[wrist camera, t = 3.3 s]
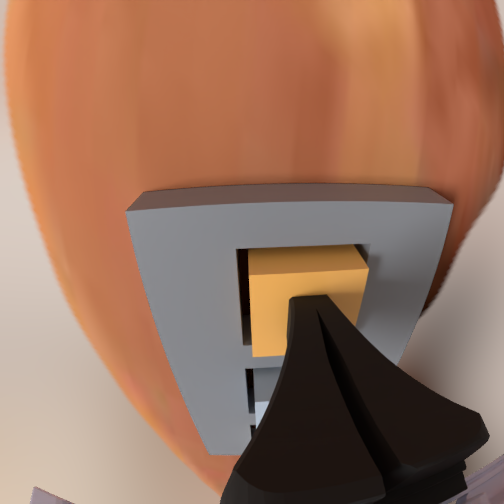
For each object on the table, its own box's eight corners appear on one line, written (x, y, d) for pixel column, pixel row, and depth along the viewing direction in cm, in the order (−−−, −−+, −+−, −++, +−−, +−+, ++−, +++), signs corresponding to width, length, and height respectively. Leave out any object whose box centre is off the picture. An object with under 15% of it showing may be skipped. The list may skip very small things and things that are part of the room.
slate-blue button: (319, 394, 16) (326, 428, 14) (254, 399, 16) (256, 434, 14) (330, 354, 14) (341, 393, 12) (252, 360, 14) (254, 402, 12)
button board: (346, 424, 21) (350, 443, 19) (210, 435, 21) (209, 454, 19) (427, 187, 11) (453, 204, 9) (143, 192, 11) (125, 211, 9)
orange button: (334, 310, 13) (348, 348, 11) (250, 315, 13) (252, 357, 11) (346, 234, 11) (369, 268, 9) (247, 238, 11) (248, 275, 9)
